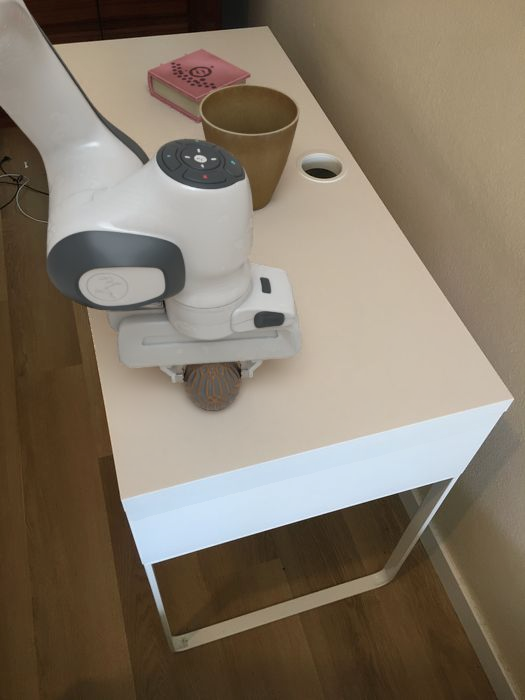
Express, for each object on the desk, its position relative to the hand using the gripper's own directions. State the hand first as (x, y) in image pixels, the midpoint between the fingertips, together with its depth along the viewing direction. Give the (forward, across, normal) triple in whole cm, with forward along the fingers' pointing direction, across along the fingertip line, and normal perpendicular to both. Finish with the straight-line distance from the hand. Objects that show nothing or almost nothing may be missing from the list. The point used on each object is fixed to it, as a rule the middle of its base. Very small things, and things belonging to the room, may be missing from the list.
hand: (212, 375), depth 69 cm
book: (+4, +1, +74) cm, 74 cm away
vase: (+4, 0, 0) cm, 4 cm away
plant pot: (+4, +8, +40) cm, 41 cm away
